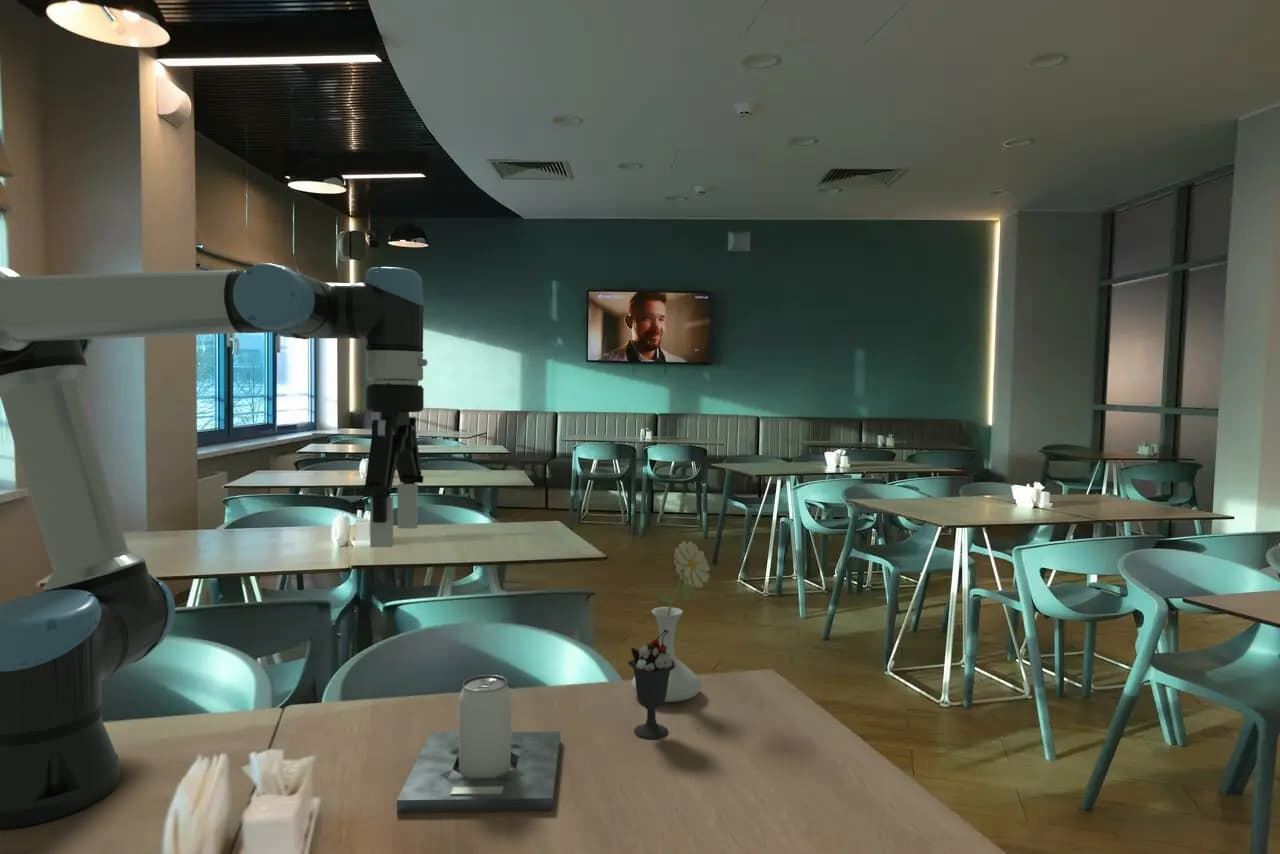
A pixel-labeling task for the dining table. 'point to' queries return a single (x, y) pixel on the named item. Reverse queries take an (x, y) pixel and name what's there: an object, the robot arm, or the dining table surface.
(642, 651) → the sundae
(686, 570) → the flower in vase
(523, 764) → the socket plate
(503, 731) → the can
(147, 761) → the dining table surface
